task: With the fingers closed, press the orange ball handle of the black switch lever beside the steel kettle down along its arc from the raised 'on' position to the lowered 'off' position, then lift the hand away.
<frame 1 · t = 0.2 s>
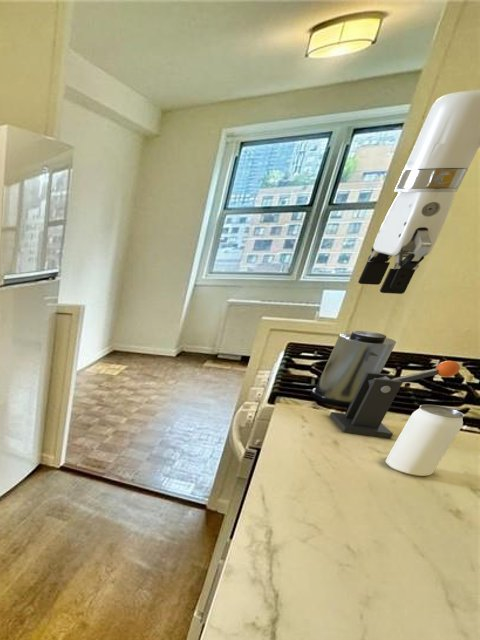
hand: (379, 288, 89), 31 cm above the worktop, tool pointing down, fingers open, 9 cm apart
kettle: (338, 399, 121), on the worktop
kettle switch: (413, 376, 100), point 12 cm above the worktop, hinge at 28.0°
switch bracket: (358, 427, 107), on the worktop
can: (406, 469, 92), on the worktop
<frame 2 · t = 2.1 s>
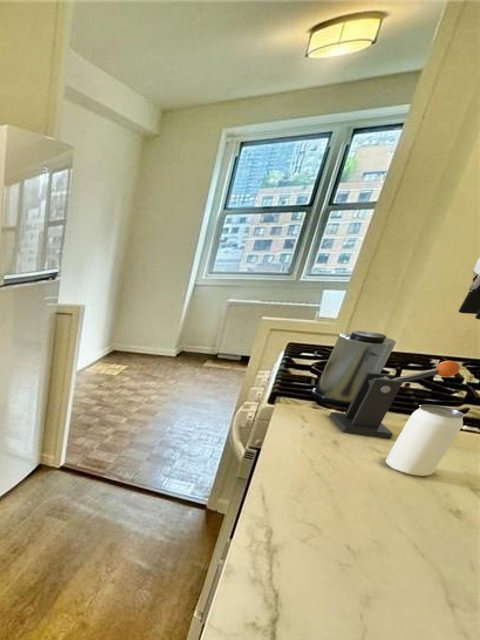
hand: (478, 315, 92), 25 cm above the worktop, tool pointing down, fingers open, 4 cm apart
nothing on the worktop moved.
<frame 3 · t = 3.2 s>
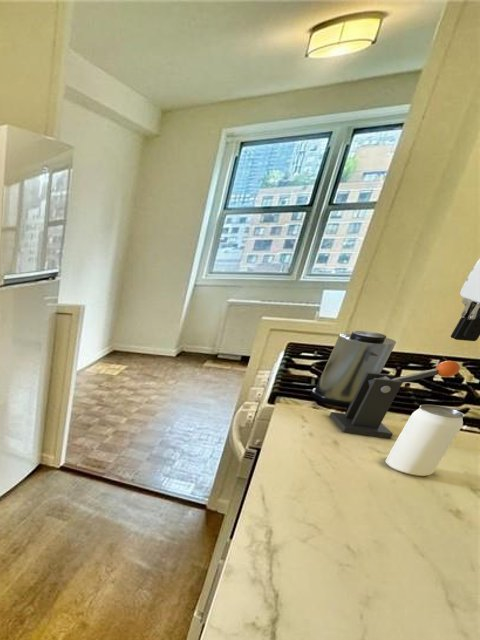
hand: (462, 339, 94), 21 cm above the worktop, tool pointing down, fingers closed
nothing on the worktop moved.
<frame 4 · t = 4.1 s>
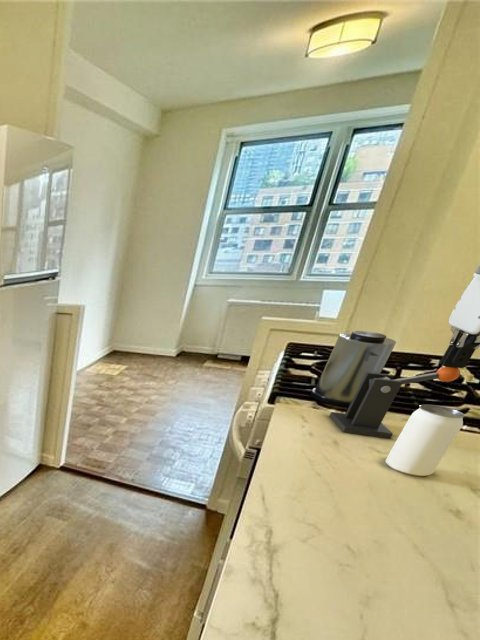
hand: (451, 365, 97), 15 cm above the worktop, tool pointing down, fingers closed
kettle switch: (413, 379, 100), point 12 cm above the worktop, hinge at 21.9°
everything else where it was.
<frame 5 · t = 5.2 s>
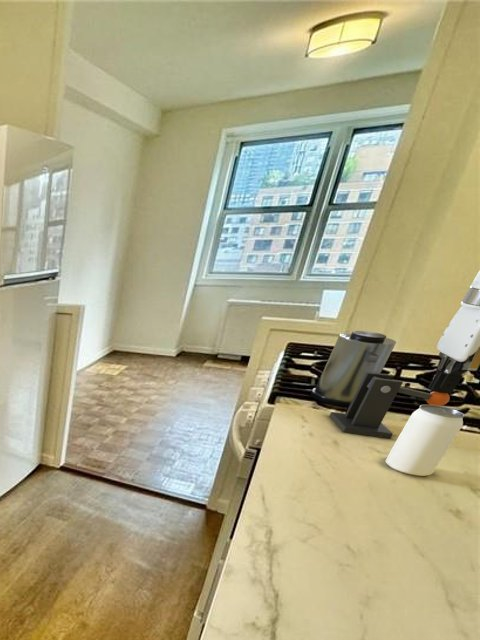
hand: (439, 390, 99), 10 cm above the worktop, tool pointing down, fingers closed
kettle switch: (409, 391, 101), point 9 cm above the worktop, hinge at -9.1°, touching gripper
everything else where it was.
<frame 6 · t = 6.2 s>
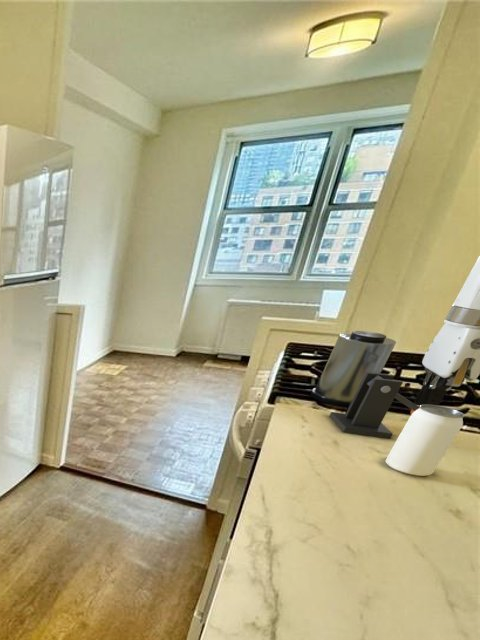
hand: (425, 405, 101), 7 cm above the worktop, tool pointing down, fingers closed
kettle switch: (401, 398, 102), point 7 cm above the worktop, hinge at -29.6°, touching gripper
everything else where it was.
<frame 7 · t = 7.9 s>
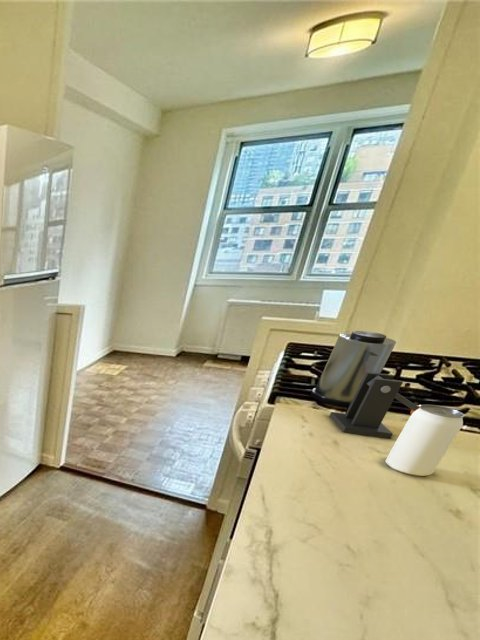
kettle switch: (401, 398, 102), point 7 cm above the worktop, hinge at -29.6°
everything else where it was.
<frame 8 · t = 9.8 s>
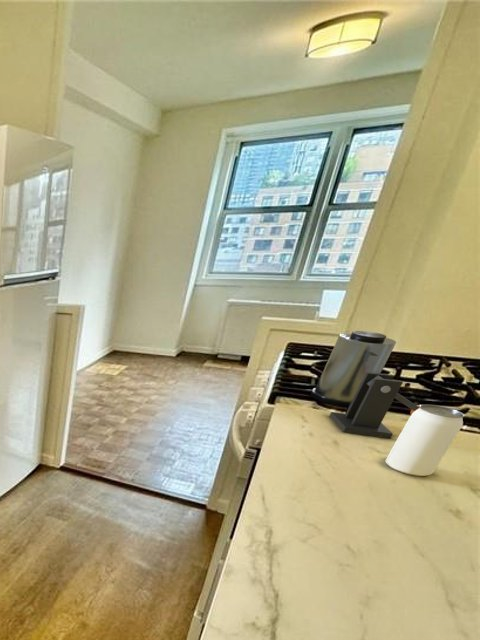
nothing on the worktop moved.
at the end: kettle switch at -30° (first picture: +28°); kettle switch reached -30° during the clip, -30° at the end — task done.
